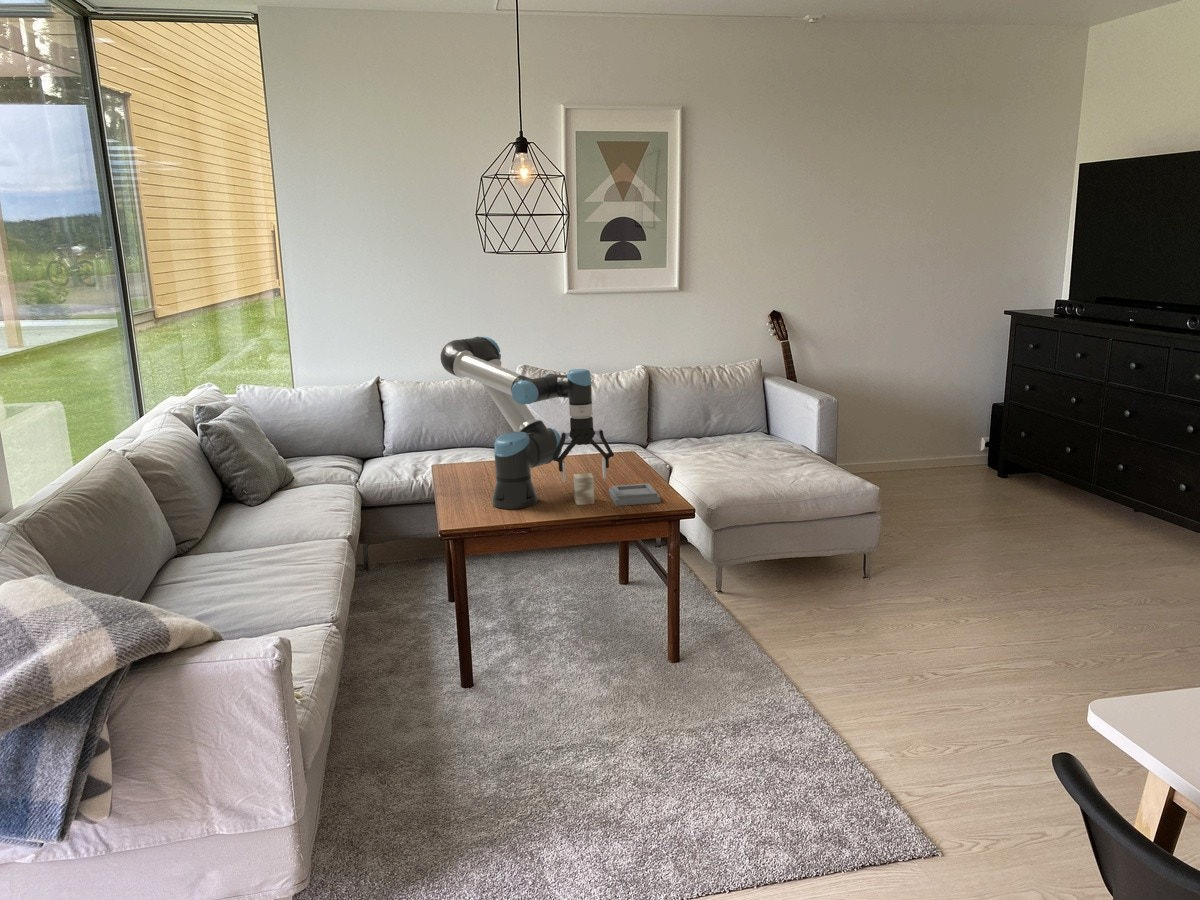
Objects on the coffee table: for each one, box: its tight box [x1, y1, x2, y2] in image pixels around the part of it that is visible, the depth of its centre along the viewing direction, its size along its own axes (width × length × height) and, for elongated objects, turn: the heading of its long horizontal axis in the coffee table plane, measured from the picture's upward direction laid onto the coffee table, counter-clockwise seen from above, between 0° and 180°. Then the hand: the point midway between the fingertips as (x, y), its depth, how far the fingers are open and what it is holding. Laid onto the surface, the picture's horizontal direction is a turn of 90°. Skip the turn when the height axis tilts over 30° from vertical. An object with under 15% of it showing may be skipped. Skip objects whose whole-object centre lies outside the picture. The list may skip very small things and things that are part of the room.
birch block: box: [573, 472, 595, 506], centre depth 293 cm, size 6×6×9 cm
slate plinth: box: [608, 483, 662, 507], centre depth 296 cm, size 15×15×3 cm
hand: (584, 479), depth 292 cm, fingers open, 13 cm apart
